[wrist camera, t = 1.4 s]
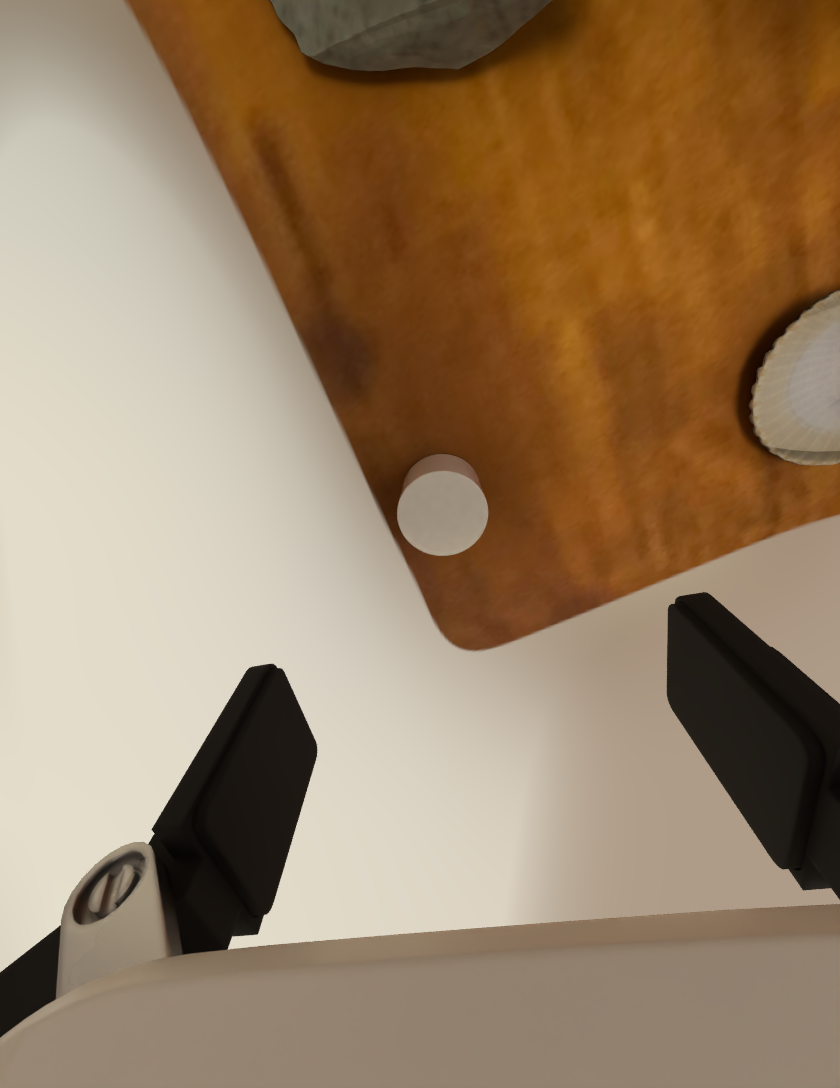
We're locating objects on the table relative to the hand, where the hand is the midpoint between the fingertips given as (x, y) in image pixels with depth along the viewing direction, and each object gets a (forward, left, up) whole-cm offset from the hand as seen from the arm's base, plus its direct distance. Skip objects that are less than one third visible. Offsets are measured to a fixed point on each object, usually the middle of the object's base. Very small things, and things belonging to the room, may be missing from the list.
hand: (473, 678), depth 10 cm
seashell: (-2, +19, -16) cm, 25 cm away
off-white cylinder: (0, -1, -16) cm, 16 cm away
